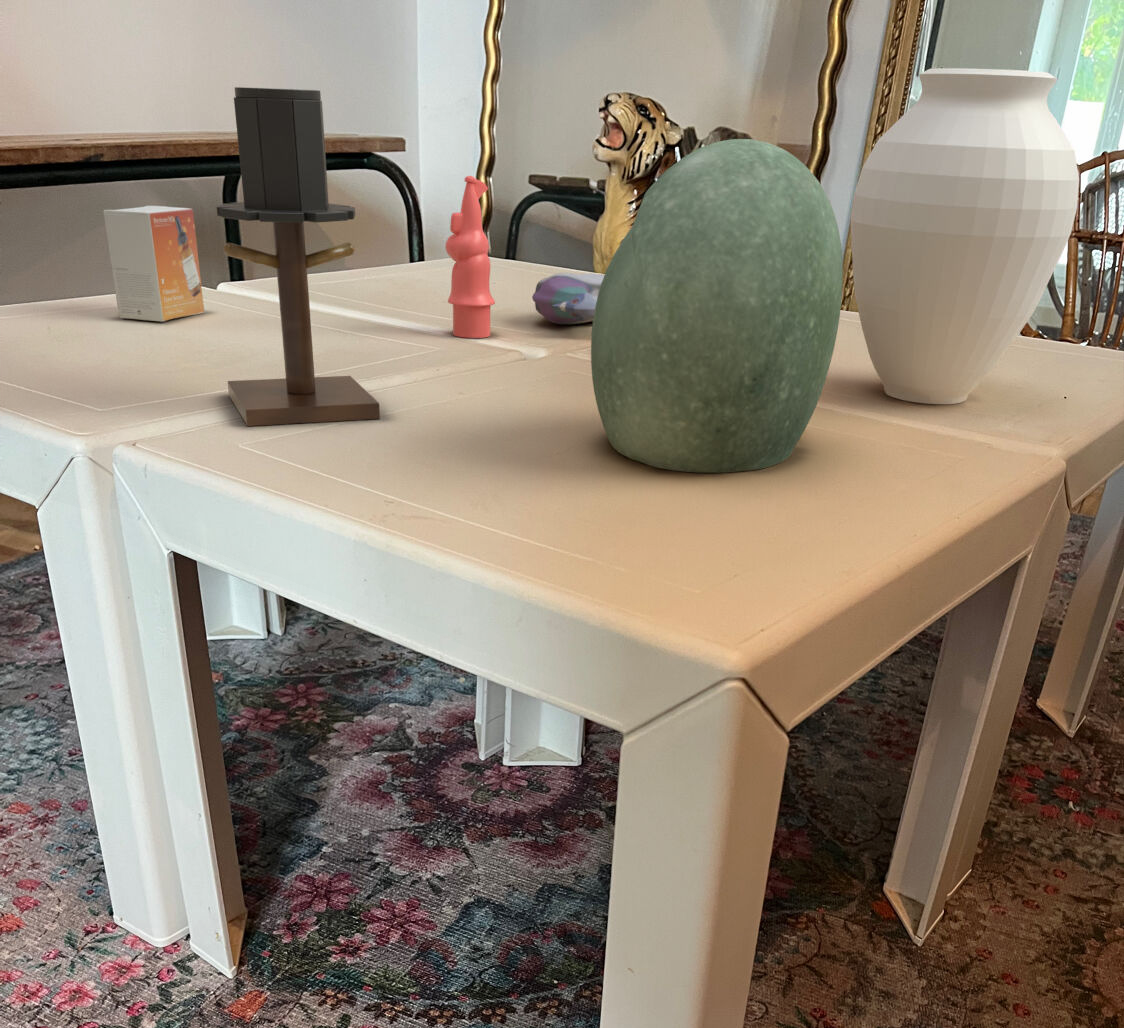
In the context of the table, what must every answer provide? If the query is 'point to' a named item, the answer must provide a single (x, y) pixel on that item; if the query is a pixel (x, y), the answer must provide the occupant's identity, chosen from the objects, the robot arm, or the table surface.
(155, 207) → the small box
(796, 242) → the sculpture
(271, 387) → the coat stand
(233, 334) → the table surface
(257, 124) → the hat
